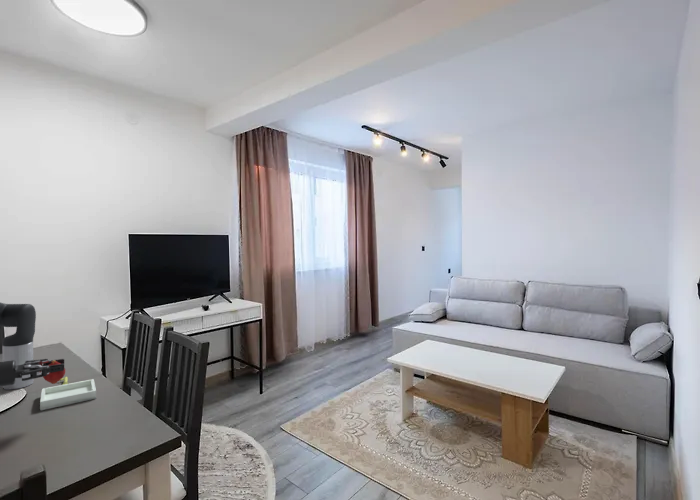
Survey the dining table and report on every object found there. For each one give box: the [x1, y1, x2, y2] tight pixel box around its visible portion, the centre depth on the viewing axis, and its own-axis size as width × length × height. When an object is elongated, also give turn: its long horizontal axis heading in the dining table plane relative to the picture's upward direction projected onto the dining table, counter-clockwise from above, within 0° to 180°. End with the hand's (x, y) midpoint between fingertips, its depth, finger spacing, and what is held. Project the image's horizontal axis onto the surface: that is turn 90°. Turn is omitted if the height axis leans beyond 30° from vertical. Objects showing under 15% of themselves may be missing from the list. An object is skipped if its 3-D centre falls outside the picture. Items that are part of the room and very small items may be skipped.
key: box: [59, 376, 70, 385], centre depth 146 cm, size 7×12×2 cm, turn 55°
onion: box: [42, 359, 66, 385], centre depth 121 cm, size 6×6×8 cm
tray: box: [39, 378, 97, 411], centre depth 136 cm, size 14×16×3 cm
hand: (64, 364), depth 122 cm, fingers closed on onion, 5 cm apart
